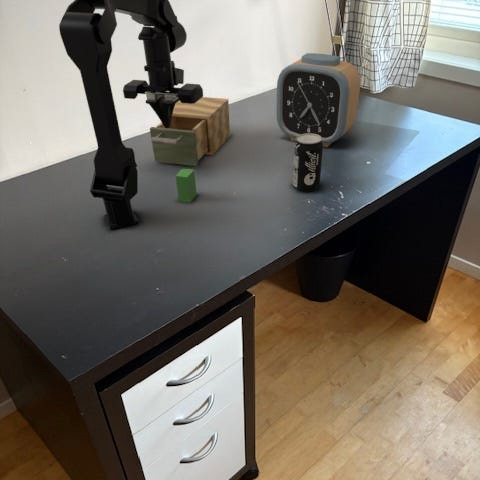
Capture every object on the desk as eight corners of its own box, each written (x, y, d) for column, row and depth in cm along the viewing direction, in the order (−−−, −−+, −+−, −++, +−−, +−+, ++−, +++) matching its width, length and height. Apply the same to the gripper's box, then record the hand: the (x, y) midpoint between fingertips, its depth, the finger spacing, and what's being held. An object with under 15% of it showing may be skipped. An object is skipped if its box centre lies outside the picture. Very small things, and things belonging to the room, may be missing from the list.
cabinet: (212, 155, 133) (209, 116, 126) (168, 150, 136) (163, 112, 129) (230, 135, 143) (228, 98, 136) (188, 131, 147) (185, 95, 139)
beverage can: (324, 185, 117) (329, 137, 109) (308, 195, 113) (312, 146, 105) (303, 178, 120) (306, 130, 112) (287, 187, 117) (288, 138, 109)
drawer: (189, 173, 122) (185, 139, 117) (146, 168, 126) (140, 135, 120) (215, 146, 135) (213, 114, 129) (175, 142, 138) (171, 110, 133)
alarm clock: (275, 138, 140) (276, 57, 126) (290, 127, 146) (292, 48, 132) (340, 151, 132) (349, 65, 117) (353, 139, 138) (363, 56, 123)
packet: (196, 195, 116) (194, 169, 111) (190, 202, 113) (187, 177, 108) (185, 193, 116) (182, 168, 112) (178, 201, 114) (175, 175, 109)
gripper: (209, 51, 112) (213, 119, 122) (138, 48, 117) (149, 113, 127) (190, 64, 104) (197, 135, 115) (115, 60, 109) (128, 128, 119)
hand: (167, 127), depth 119 cm, fingers closed
